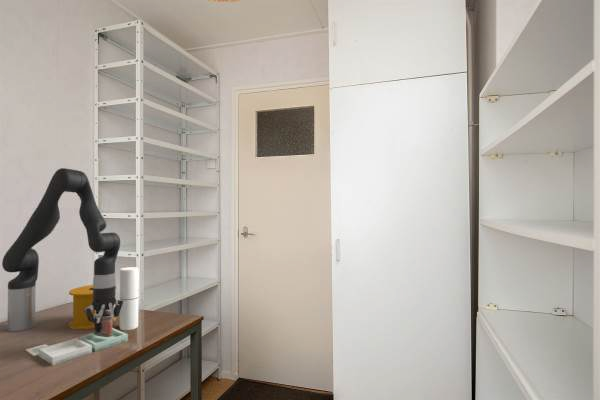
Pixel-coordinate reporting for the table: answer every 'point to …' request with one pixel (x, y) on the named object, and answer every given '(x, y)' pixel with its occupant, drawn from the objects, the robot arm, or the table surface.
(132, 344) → the table surface
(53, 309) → the table surface
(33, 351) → the card
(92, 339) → the green tray
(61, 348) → the white tray
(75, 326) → the spool
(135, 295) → the cylindrical container
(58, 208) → the robot arm
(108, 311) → the lighter
